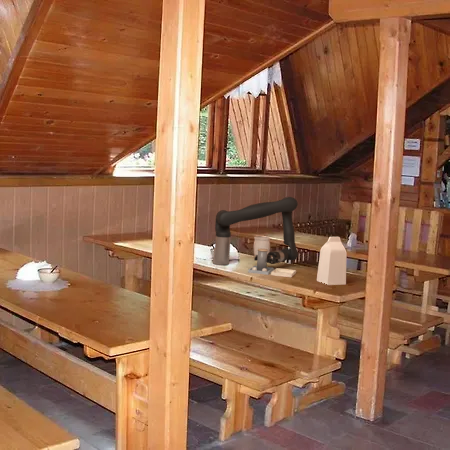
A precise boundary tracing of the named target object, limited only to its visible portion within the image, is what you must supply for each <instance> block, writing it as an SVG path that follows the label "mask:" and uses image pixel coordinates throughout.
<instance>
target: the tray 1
mask: <svg viewBox="0 0 450 450" xmlns="http://www.w3.org/2000/svg"><path fill="white" fill-rule="evenodd" d="M253 267H256V268H257V265H253V266H252V267H250V268H248V273H250V274H259V275H267V276H268V275H271V272H272V271H273V270H275V268H274V267H271V266H270V267H269V266H266V269H267V272H266V271H257V270H252V268H253Z"/></svg>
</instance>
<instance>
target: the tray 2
mask: <svg viewBox="0 0 450 450" xmlns="http://www.w3.org/2000/svg"><path fill="white" fill-rule="evenodd" d="M296 274H297V270H296V269H291V268H289V269H287V268H279V267H278V268H277V267H276V268H274V270H273V271H272V272H271V273H270V276H276V277H285V278H286V277H287V278H292V277H293V276H294V275H296Z"/></svg>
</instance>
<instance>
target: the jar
mask: <svg viewBox="0 0 450 450" xmlns="http://www.w3.org/2000/svg"><path fill="white" fill-rule="evenodd" d="M253 238H254V242H253V255H254V258H255V257H256V255H258V249H268V251H267V254H268V253H269V252H270V250H271V249H270V248H271V242H270V240H271V237H270V236H269V237H268V236H262V235H261V236H260V235H257V236H253Z"/></svg>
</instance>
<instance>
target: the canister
mask: <svg viewBox="0 0 450 450" xmlns="http://www.w3.org/2000/svg"><path fill="white" fill-rule="evenodd" d="M267 251H268V249H258V257H257V261H256V262H257V263H256V266H257V271H262V269H263V268H266V267H267Z"/></svg>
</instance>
